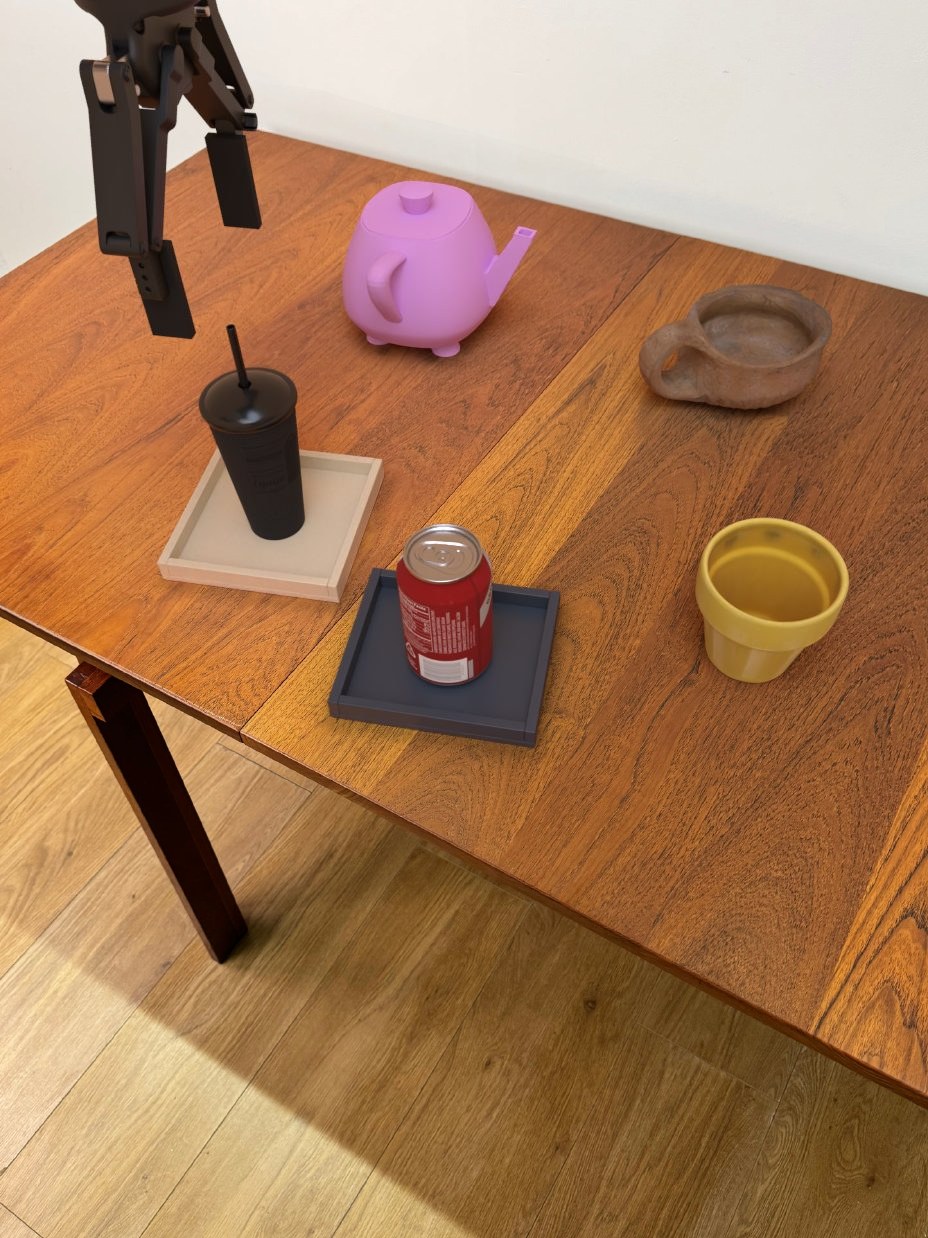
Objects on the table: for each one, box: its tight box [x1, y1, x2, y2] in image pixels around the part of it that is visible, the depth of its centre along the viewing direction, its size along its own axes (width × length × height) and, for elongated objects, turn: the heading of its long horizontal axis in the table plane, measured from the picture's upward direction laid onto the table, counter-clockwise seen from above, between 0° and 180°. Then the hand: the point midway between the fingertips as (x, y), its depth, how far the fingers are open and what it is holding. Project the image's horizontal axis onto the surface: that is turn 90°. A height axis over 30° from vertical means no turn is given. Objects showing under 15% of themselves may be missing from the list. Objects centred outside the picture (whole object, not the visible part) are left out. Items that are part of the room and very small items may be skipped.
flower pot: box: [694, 517, 850, 684], centre depth 75 cm, size 10×10×10 cm
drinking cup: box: [197, 323, 305, 540], centre depth 80 cm, size 8×8×20 cm
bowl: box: [638, 283, 833, 410], centre depth 95 cm, size 18×14×10 cm
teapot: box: [341, 180, 538, 358], centre depth 100 cm, size 20×20×15 cm
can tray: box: [327, 567, 561, 749], centre depth 78 cm, size 16×14×2 cm
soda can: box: [395, 523, 493, 686], centre depth 73 cm, size 7×7×12 cm
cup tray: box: [156, 446, 385, 604], centre depth 88 cm, size 16×16×2 cm
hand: (211, 276), depth 69 cm, fingers open, 13 cm apart
